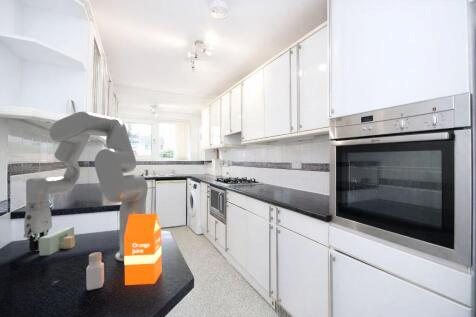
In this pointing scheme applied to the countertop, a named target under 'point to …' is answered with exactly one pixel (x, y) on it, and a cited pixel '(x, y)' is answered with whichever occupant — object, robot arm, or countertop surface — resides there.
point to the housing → (54, 240)
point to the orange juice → (142, 249)
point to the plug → (64, 243)
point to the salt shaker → (95, 271)
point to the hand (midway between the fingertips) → (38, 247)
